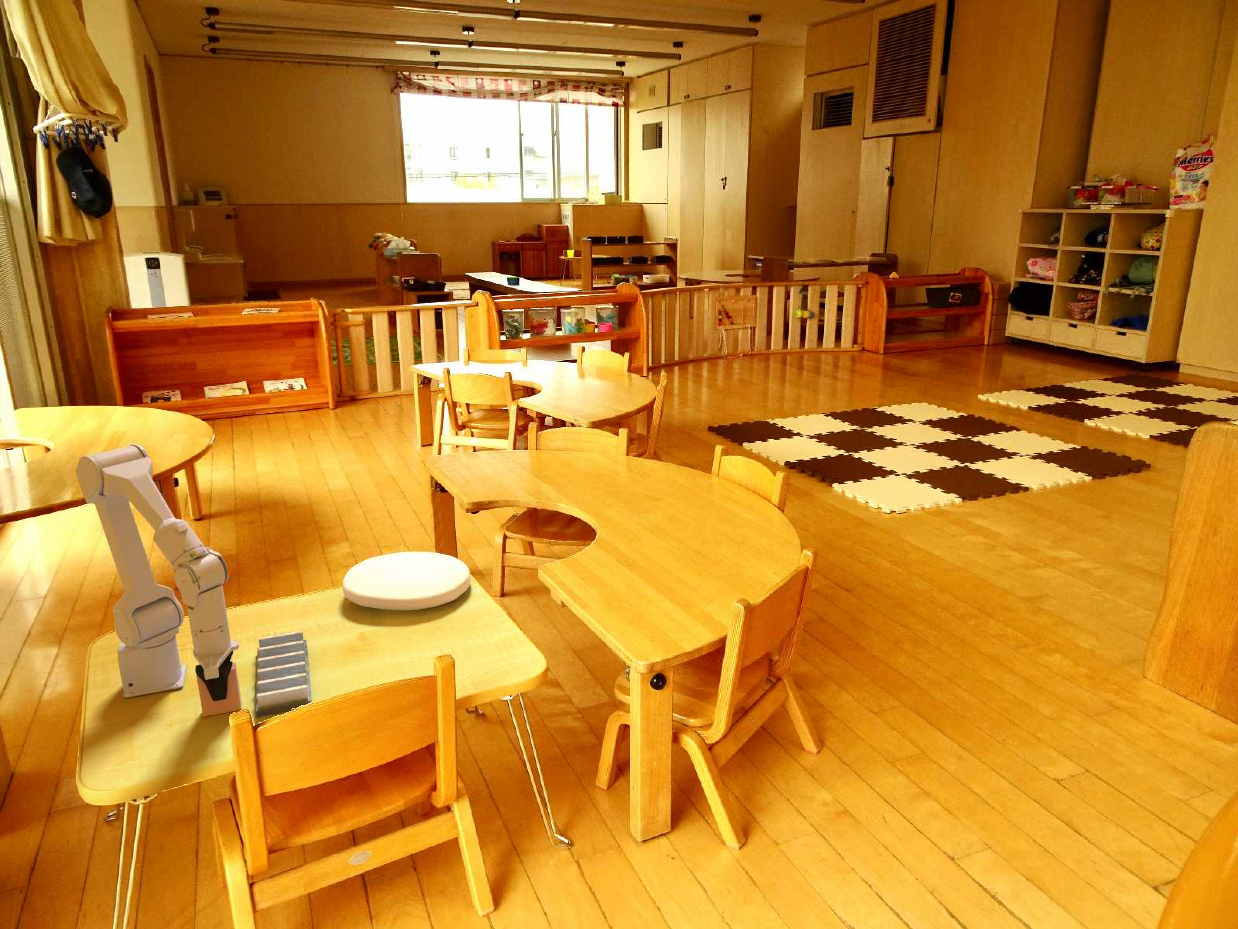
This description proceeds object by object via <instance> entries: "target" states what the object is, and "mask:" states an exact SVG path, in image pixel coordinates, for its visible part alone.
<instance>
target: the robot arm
mask: <svg viewBox="0 0 1238 929" xmlns="http://www.w3.org/2000/svg"><path fill="white" fill-rule="evenodd" d="M75 474H76V478H77V482H78V483H79V487H80V489H81V492H82V496H83V497H84V499H85V503H86V504H93V505H94V506H95V509H96V511H97V515H98V518H99V521H100V523H101V526H102V530H103V533H104V535H105V537H106V541H107V544H108V547H109V550H110V553H111V555H112V559H113V561H114V565H115V567H116V571H117V574H118V576H119V580H120V582H121V586H122V588H123V591H124V592H123V594H121V596H120V598H119V599H118V600H117V601H116V602H115V603H114V605H113V606H112V609H111V610H112V614H113V619H114V630H115V633H116V636H117V637H118V639H119V640H120V641H121V642H120V643H119V644H118V646H117V663H118V669H119V674H120V675H119V676H120V679H121V686H122V689H123V698H132V697H138V696H143V695H149V694H153V693H160V692H165V691H169V690H177V689H181V688H184V682H185V679H186V678H185V677H186V673H187V672H186V671H187V664H181V659H180V653H179V646H178V641H177V636H176V635H177V634H179V633H180V628H179V627H181V626H183V623H184V619H185V613H184V612H185V611H184V609H183V607H182V604H181V603H180V601H179V600H178V599H177V597H176V595H175V593H174V590H173V588H171V587H169V586H166V585H162V584H158V583H157V581H156V579H155V576H154V573H153V570H152V567H151V565H150V561H149V558H148V555H147V553H146V549H145V546H144V542H143V541H142V537H141V534H140V531H139V528H138V525H137V522H136V519H135V516H134V512H133V510H132V507H131V505H132V506H133V507H134V508H135V509H136V510H137V512H138V513H139V514H140V515H141V516H142V517H143V518H144V519H145V521H146V522H147V523H148V524H149V526H151V527H152V529H153V530H154V533H153V538H152V539H153V542H154V543H155V545H156V546H157V548H158V549H159V550H160V552H161V553H162V555H163V556H164V558H165V559H166V560H167V562H168V563H169V565H170V566H171V567H172V568H173V570H174V576H173V579H174V583H175V585H176V587H177V589H178V592H180V595H181V600H182V602H183V605H186V609H187V616H188V621H189V626H190V632H191V633H190V634H191V638H192V645H193V646H192V647H193V650H192V654H193V655H192V656H193V658H195V660H196V661H197V662H198V664H196V665H195V669H194V671H195V674H196V677H197V676H198V677H199V678H200V679H201V680H202V681H203V682H204V684H205V685H206V687H207V689H208V691H209V694H210V696H211V698H212V700H213V701H219V700H224V699H226V698H227V689H228V676H229V673H230V671H231V668H232V663H234V662H233V660H232V657H233V654H234V651H236V650H239V648H240V643H239V640H231V633H230V627H229V625H230V624H229V620H228V613H227V607H226V606H227V605H226V600H225V593H224V587H223V584H225V583H227V582H228V580H229V578H230V574H229V573H230V572H229V568H228V565H227V563H226V561H225V559H224V558H223V556H222V554H220V553H219V552H217V551H215V550H213V549H212V548H211V547H209V546H205V545H204V544H203V542H202V541H201V540H200V538H199V537H198V535H197V534H196V532H195V531H194V529H192V526H190V525H189V523H188V522H187V521H186V520H184V519H179V518H176V517H175V516H174V514H173V512H172V511H171V508H169V505H168V504H167V502H166V500H165V498H164V497H163V495H162V493H161V492H160V491H159V488H158V487H157V485H156V483H155V481H154V480H153V477H154V466H153V461H152V460H151V457H150V455H149V452H148V451H147V450H146V449H145V448H144V447H143V446H142V445H140V444H137V443H132V444H130V445H127V446H124V447H120V448H115V449H111V450H107V451H103V452H99V453H95V454H91V455H82V456H81V457H80V458H79V460H78V462H77V466H76V470H75ZM130 503H131V504H130Z"/></svg>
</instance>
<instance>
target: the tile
mask: <svg viewBox="0 0 1238 929" xmlns="http://www.w3.org/2000/svg"><path fill="white" fill-rule="evenodd" d="M196 680H197V681H196V682H197V686H198V693H199V699H200V705H201V712H202V716H203V718H204V717H205V718H206V717H210V716H209V715H211V716H215V715H221V714H227V713H230V712H231V713H233V712H237V711H241V710H242V706H241V705H242V695H241V690H240V683H239V682H240V681H239V675H238V669H237V662H236V661H235V662H232V668H231V671H230V673H229V676H228V689H227V698H226V699H224V700H219V701H213V700H212V698H211V696H210V694H209V691H208V689H207V687H206V685H205V684H204V682H203V681H202V680H201V679H200V678H199V677H198V676H197V675H196ZM240 709H241V710H240ZM236 710H237V711H236Z"/></svg>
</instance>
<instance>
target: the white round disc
mask: <svg viewBox="0 0 1238 929" xmlns="http://www.w3.org/2000/svg"><path fill="white" fill-rule="evenodd" d="M469 575H470V576H469ZM471 577H472V575H471V572H470V569H469V567H468V566H467V564H465V562H463V561H462V560H460V559H458V558H457V557H454V556H452V555H447V554H444V553H443V554H442V553H439V552H431V551H404V552H403V551H402V552H395V553H389V554H382V555H379V556H373V557H371V558H368V559H367V558H366V559H364V560H363V561H361V562H359V563H357V564H355V565H354V566H352V567H351V568H350V569H349V570H348V571H347V572H346V574H345V575H344V577H343V581H342V592H343V594H344V596H345V597H346V599H347V600H349V601H350V602H352V603H353V604H354V603H355V604H356V605H357V606H361V607H366V608H374V609H377V610H379V609H380V610H388V611H417V610H423V609H424V610H425V609H430V608H434V607H437V606H438V607H439V606H442V605H445V604H447V603H450V602H452V601H453V602H454V601H455V600H457V599H458V598H459V597H460V596H461V595H463V594H464V593H465V592H466V591H467V590H468V588H469V587H470V586H471Z"/></svg>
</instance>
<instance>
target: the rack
mask: <svg viewBox="0 0 1238 929" xmlns="http://www.w3.org/2000/svg"><path fill="white" fill-rule="evenodd" d="M258 646H259V647H257V648H256V649H257V650H256V685H255V686H256V689H255V690H256V692H255V693H256V695H255V715H256V718H260V717H261V718H262V717H265V716H270V715H274V714H275V715H276V714H281V713H284V712H289V711H288V710H291V709H292V708H297V707H299V706H301V705H306V704H308V703H310V702H312V703H313V698H312V689H311V688H312V687H311V679H310V678H311V677H310V676H311V675H310V665H309V654H308V644H307V639H304V633H303V630H299V631H292V632H287V633H280V634H274V635H269V636H261V637H258ZM291 711H292V710H291Z"/></svg>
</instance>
